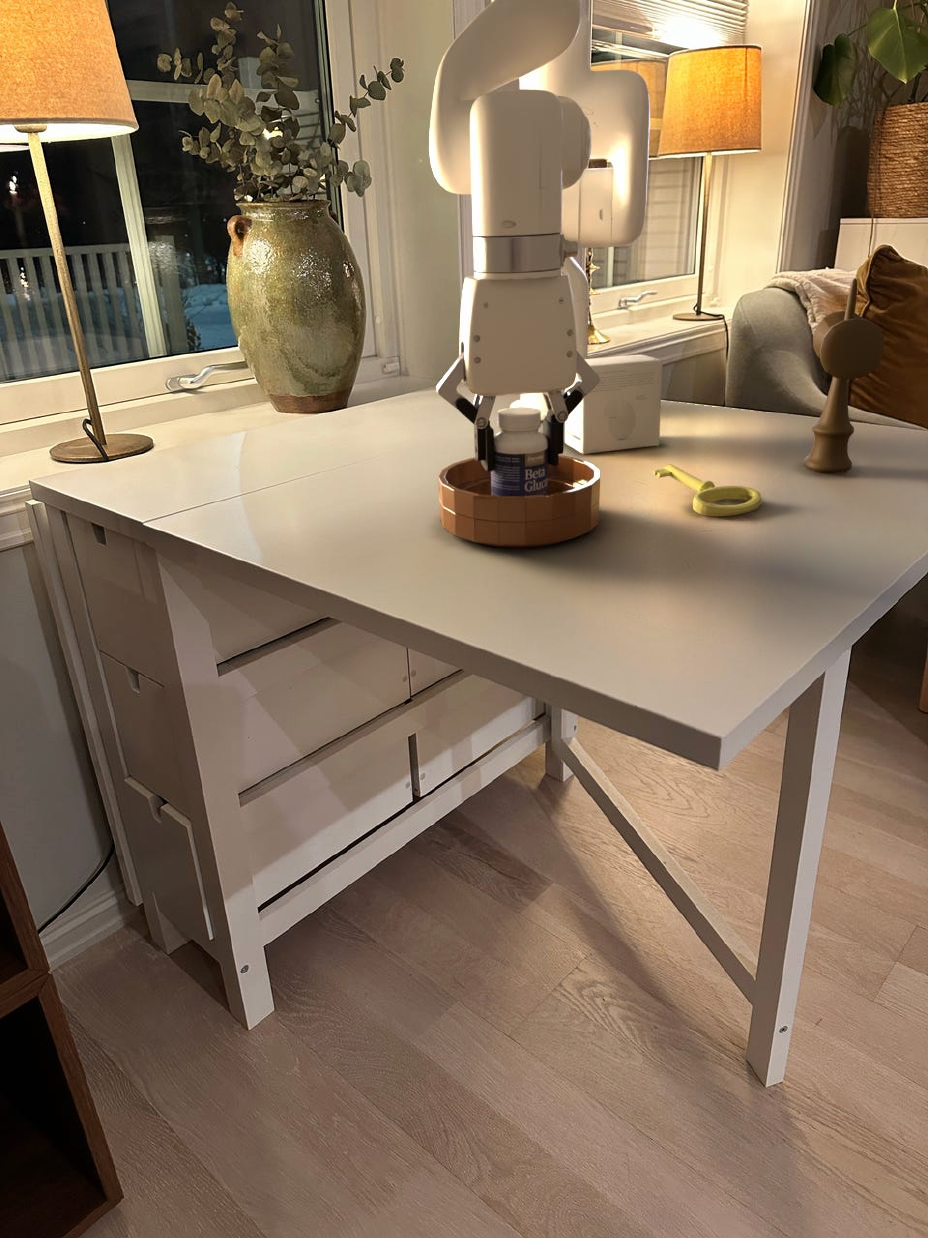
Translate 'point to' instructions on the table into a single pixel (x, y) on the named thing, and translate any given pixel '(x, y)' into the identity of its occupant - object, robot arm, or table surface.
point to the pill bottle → (520, 454)
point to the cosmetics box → (618, 406)
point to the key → (713, 494)
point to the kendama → (841, 380)
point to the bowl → (519, 505)
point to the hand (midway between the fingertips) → (519, 462)
